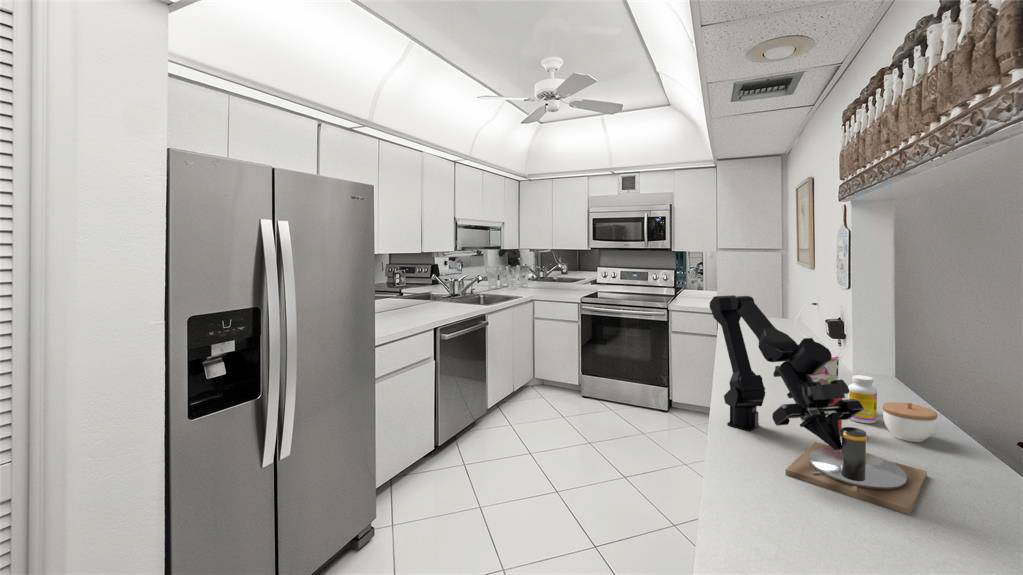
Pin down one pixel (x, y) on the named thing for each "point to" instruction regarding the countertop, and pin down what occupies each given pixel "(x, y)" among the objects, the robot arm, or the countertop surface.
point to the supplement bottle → (864, 398)
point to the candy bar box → (827, 372)
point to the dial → (857, 464)
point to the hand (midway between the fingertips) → (838, 449)
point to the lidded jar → (909, 421)
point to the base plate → (890, 499)
